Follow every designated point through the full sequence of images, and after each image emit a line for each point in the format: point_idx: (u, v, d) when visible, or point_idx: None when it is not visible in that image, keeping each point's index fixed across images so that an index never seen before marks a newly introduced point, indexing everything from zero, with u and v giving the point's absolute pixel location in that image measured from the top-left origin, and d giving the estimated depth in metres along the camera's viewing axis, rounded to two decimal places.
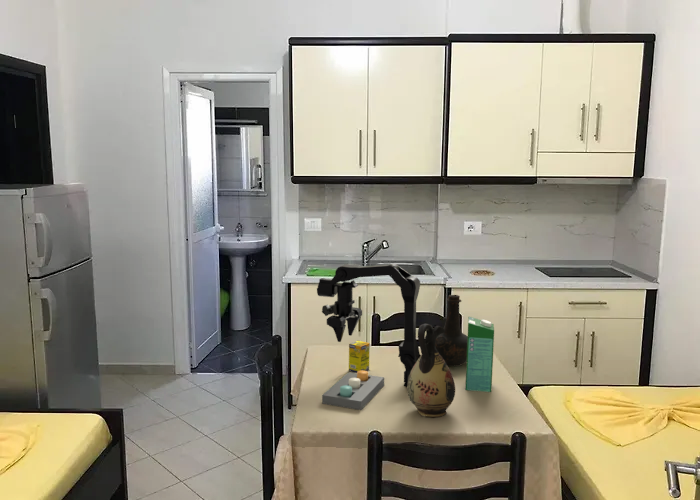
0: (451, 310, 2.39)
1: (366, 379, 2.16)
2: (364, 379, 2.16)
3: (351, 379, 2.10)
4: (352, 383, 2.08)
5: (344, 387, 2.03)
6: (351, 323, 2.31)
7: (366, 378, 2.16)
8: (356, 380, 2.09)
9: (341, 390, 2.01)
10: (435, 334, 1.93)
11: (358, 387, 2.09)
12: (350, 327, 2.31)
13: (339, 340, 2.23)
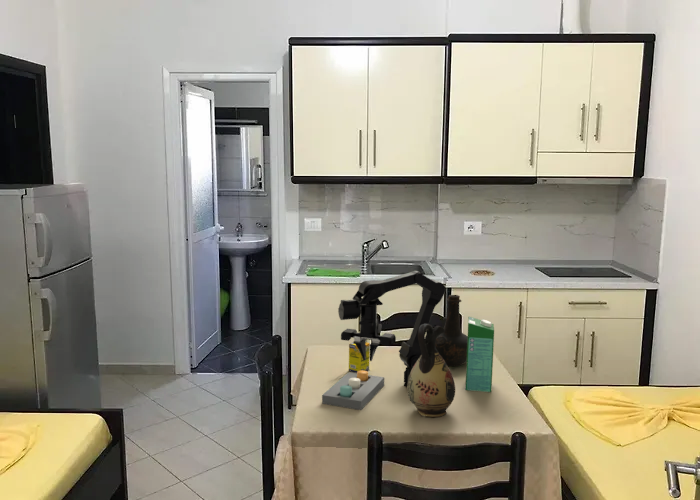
0: (451, 310, 2.39)
1: (366, 379, 2.16)
2: (364, 379, 2.16)
3: (351, 379, 2.10)
4: (352, 383, 2.08)
5: (344, 387, 2.03)
6: None
7: (366, 378, 2.16)
8: (356, 380, 2.09)
9: (341, 390, 2.01)
10: (435, 334, 1.93)
11: (358, 387, 2.09)
12: None
13: None
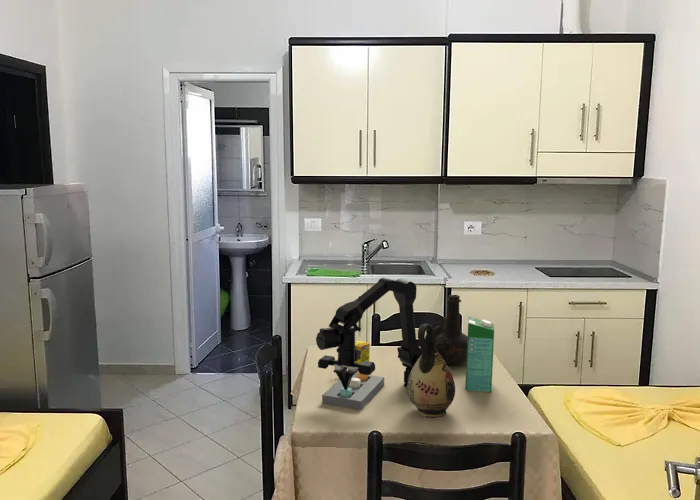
0: (451, 310, 2.39)
1: (366, 379, 2.16)
2: (364, 379, 2.16)
3: (351, 379, 2.10)
4: (352, 383, 2.08)
5: None
6: None
7: (366, 378, 2.16)
8: (356, 380, 2.09)
9: (341, 392, 2.01)
10: (435, 334, 1.93)
11: (358, 387, 2.09)
12: None
13: None
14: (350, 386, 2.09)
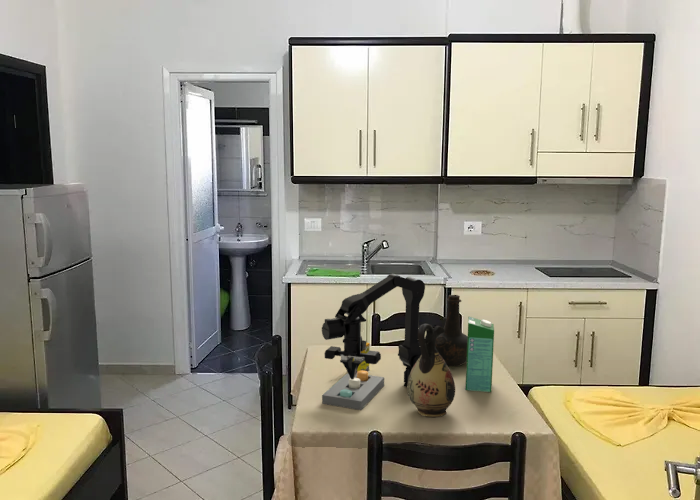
0: (451, 310, 2.39)
1: (366, 379, 2.16)
2: (364, 379, 2.16)
3: (351, 379, 2.10)
4: (352, 383, 2.08)
5: (344, 391, 2.03)
6: None
7: (366, 378, 2.16)
8: (356, 380, 2.09)
9: (341, 394, 2.02)
10: (435, 334, 1.93)
11: (358, 387, 2.09)
12: None
13: None
14: (350, 386, 2.09)
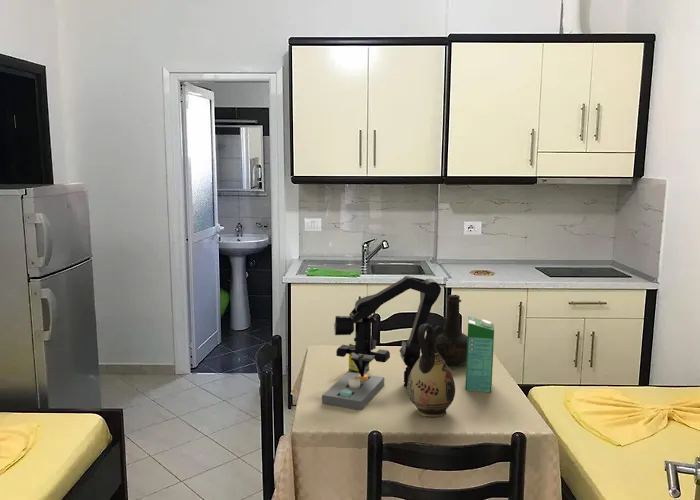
0: (451, 310, 2.39)
1: None
2: None
3: (351, 379, 2.10)
4: (352, 383, 2.08)
5: (344, 391, 2.03)
6: None
7: None
8: (356, 380, 2.09)
9: (341, 394, 2.02)
10: (435, 334, 1.93)
11: (358, 387, 2.09)
12: None
13: None
14: (350, 386, 2.09)
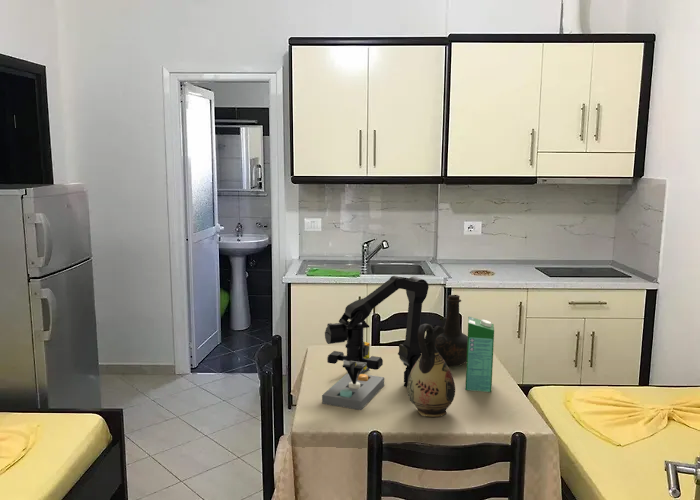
0: (451, 310, 2.39)
1: None
2: None
3: (351, 383, 2.10)
4: (352, 386, 2.08)
5: (344, 391, 2.03)
6: None
7: None
8: (356, 384, 2.09)
9: (341, 394, 2.02)
10: (435, 334, 1.93)
11: None
12: None
13: None
14: None
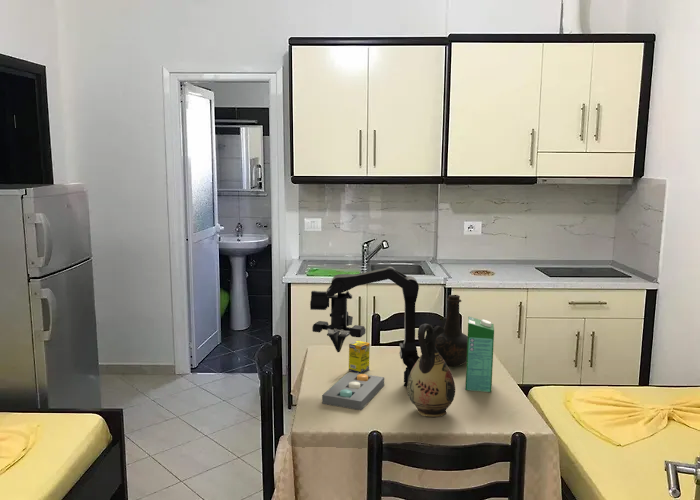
0: (451, 310, 2.39)
1: None
2: None
3: (351, 383, 2.10)
4: (352, 386, 2.08)
5: (344, 391, 2.03)
6: None
7: None
8: (356, 384, 2.09)
9: (341, 394, 2.02)
10: (435, 334, 1.93)
11: None
12: None
13: None
14: None
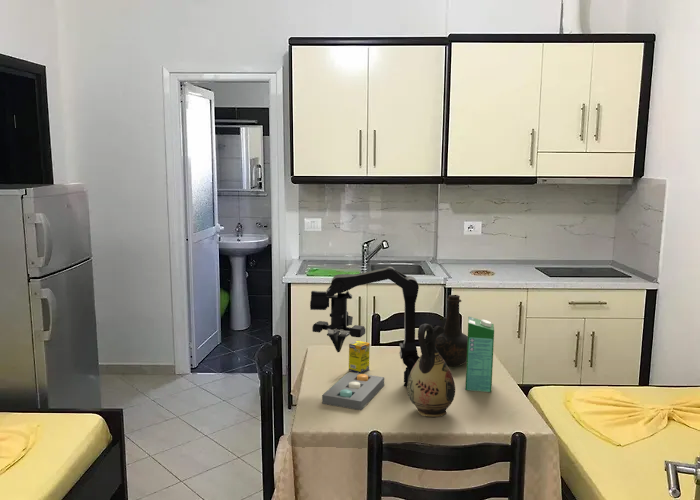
0: (451, 310, 2.39)
1: None
2: None
3: (351, 383, 2.10)
4: (352, 386, 2.08)
5: (344, 391, 2.03)
6: None
7: None
8: (356, 384, 2.09)
9: (341, 394, 2.02)
10: (435, 334, 1.93)
11: None
12: None
13: None
14: None
